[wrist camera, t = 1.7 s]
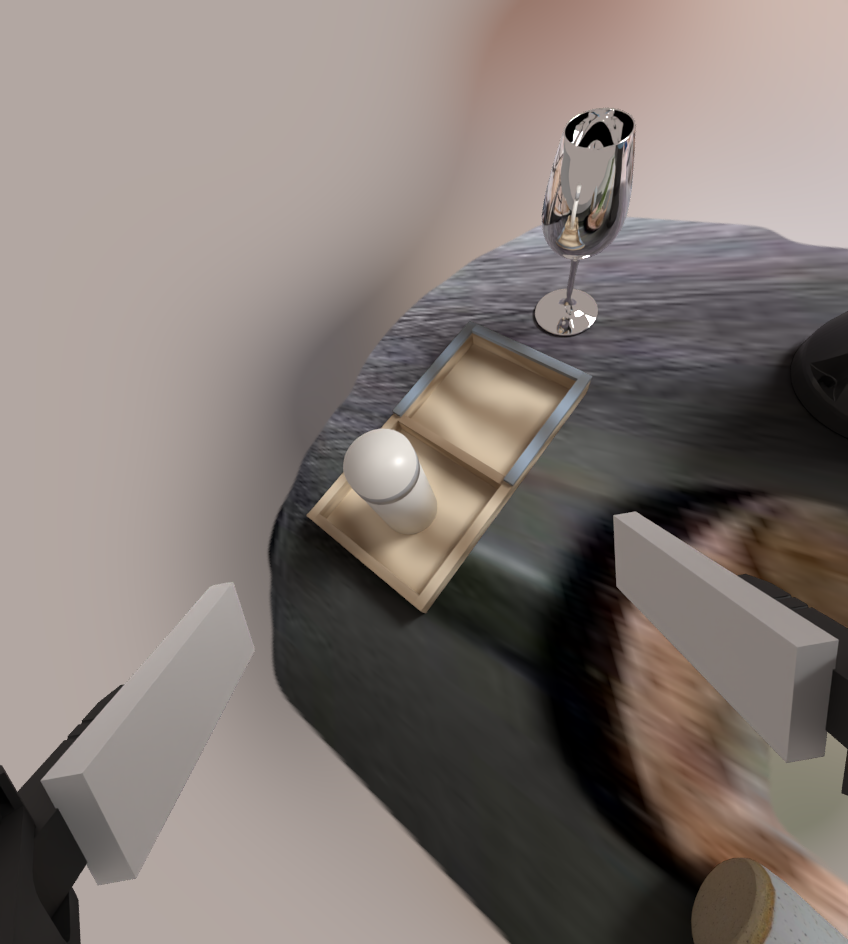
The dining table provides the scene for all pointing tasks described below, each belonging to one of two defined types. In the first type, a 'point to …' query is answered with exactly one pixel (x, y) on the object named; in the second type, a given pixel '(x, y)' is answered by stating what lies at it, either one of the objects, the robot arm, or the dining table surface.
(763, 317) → the dining table surface
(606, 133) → the wineglass
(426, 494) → the domed white canister
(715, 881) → the ceramic mug
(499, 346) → the bay tray
